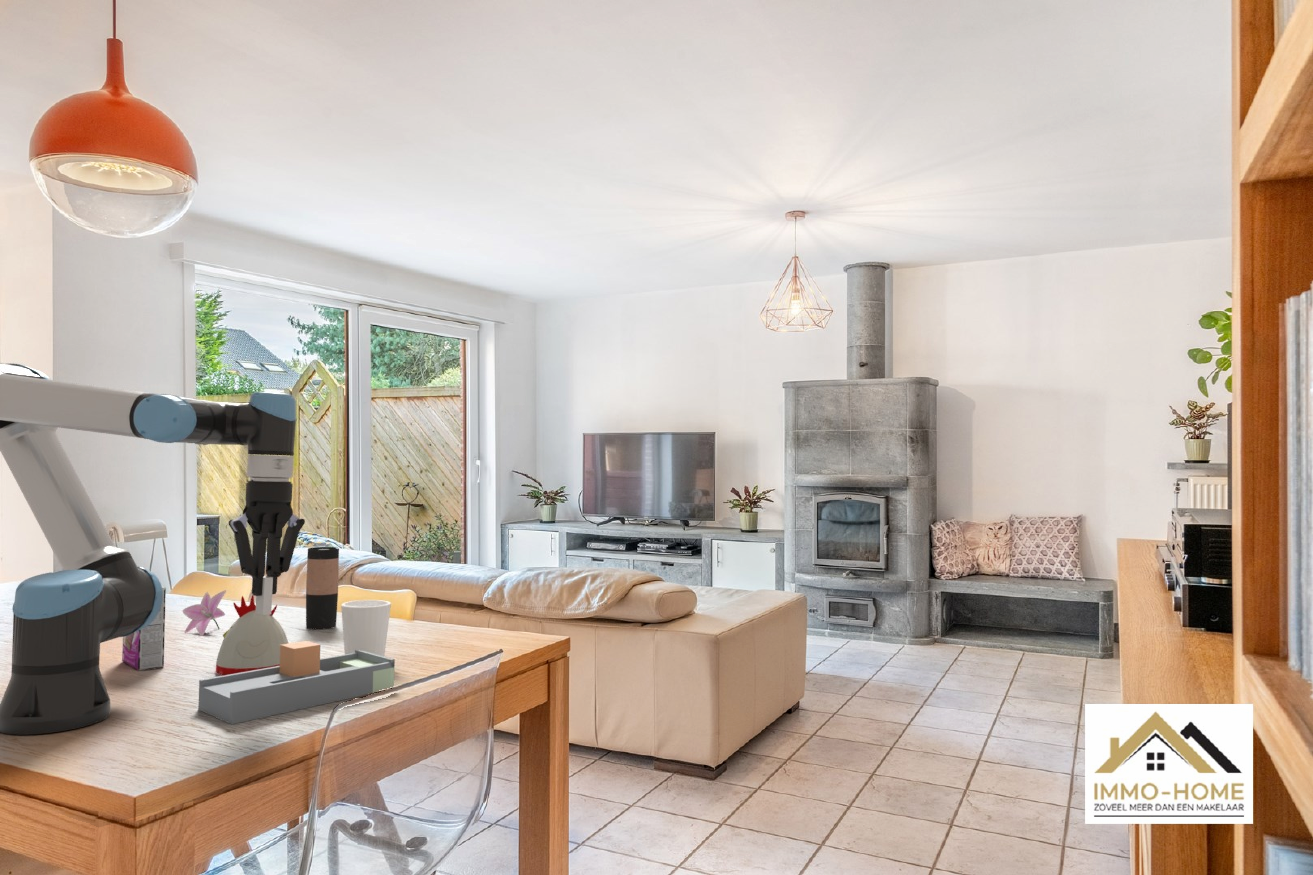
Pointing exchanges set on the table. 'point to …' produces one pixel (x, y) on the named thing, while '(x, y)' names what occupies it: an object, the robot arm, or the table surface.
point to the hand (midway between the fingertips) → (263, 613)
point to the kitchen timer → (250, 642)
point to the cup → (365, 625)
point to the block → (299, 658)
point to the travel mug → (322, 587)
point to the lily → (204, 612)
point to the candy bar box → (146, 643)
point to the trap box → (294, 687)
